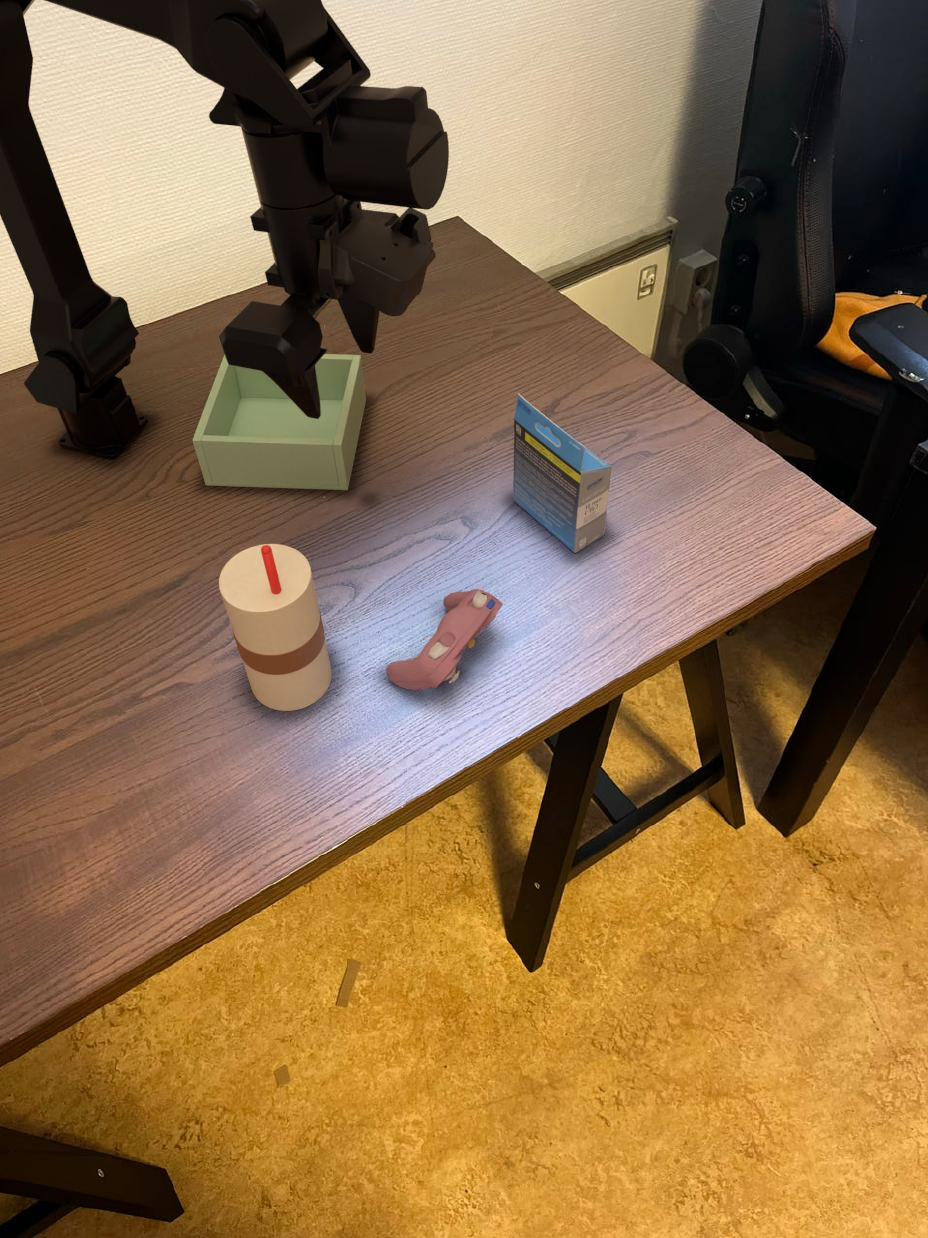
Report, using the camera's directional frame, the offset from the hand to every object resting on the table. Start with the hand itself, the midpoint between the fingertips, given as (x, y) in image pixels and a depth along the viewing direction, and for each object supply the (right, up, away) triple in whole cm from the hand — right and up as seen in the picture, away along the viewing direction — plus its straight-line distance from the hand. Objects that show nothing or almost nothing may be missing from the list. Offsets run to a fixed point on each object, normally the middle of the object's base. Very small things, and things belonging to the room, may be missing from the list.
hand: (341, 383), depth 76 cm
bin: (-7, -1, +17) cm, 19 cm away
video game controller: (+9, -22, 0) cm, 24 cm away
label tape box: (+18, -10, +10) cm, 23 cm away
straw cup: (-4, -24, -1) cm, 24 cm away
